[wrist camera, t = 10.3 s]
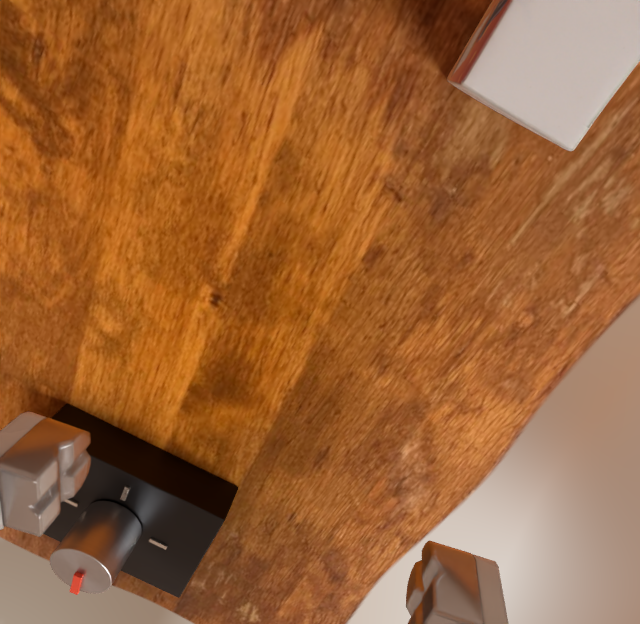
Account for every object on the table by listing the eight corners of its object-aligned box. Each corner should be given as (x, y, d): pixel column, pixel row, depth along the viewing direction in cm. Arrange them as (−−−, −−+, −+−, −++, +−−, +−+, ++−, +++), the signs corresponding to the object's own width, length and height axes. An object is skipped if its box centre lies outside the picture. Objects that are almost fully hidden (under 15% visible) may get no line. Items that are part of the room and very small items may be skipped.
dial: (90, 491, 34) (49, 544, 30) (147, 516, 34) (113, 571, 30) (82, 527, 36) (43, 580, 32) (136, 550, 36) (103, 607, 32)
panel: (238, 487, 35) (223, 522, 32) (194, 564, 40) (178, 600, 38) (66, 402, 34) (36, 431, 32) (44, 492, 40) (16, 523, 37)
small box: (531, -72, 18) (603, -161, 11) (621, -15, 19) (745, -68, 12) (442, 81, 21) (456, 84, 14) (521, 129, 21) (573, 155, 15)
